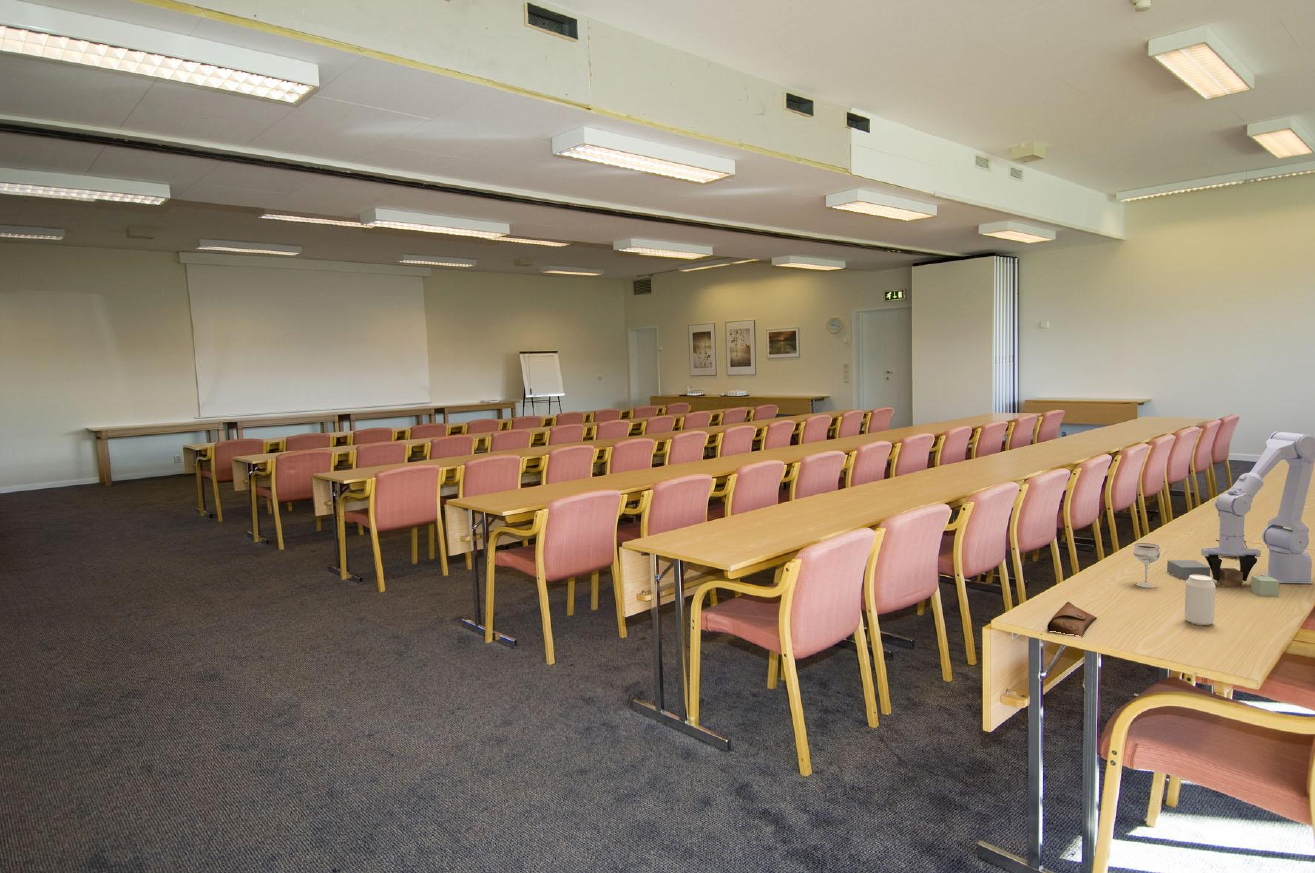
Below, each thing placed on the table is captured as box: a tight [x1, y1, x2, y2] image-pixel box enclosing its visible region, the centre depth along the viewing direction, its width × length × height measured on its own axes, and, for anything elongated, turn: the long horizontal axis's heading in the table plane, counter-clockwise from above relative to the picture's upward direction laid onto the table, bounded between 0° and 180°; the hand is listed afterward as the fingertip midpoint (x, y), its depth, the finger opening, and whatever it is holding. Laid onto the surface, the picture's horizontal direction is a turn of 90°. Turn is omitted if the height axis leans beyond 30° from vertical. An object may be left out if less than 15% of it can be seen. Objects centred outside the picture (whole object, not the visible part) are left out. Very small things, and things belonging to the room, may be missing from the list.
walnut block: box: [1216, 567, 1244, 588], centre depth 223 cm, size 4×4×4 cm
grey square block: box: [1166, 559, 1211, 580], centre depth 233 cm, size 8×8×4 cm
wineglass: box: [1132, 542, 1161, 589], centre depth 225 cm, size 7×7×12 cm
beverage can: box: [1184, 575, 1216, 626], centre depth 194 cm, size 6×6×12 cm
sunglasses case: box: [1046, 601, 1098, 638], centre depth 197 cm, size 18×7×7 cm, turn 140°
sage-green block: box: [1250, 575, 1280, 597], centre depth 214 cm, size 4×4×4 cm
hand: (1229, 579), depth 223 cm, fingers open, 6 cm apart
